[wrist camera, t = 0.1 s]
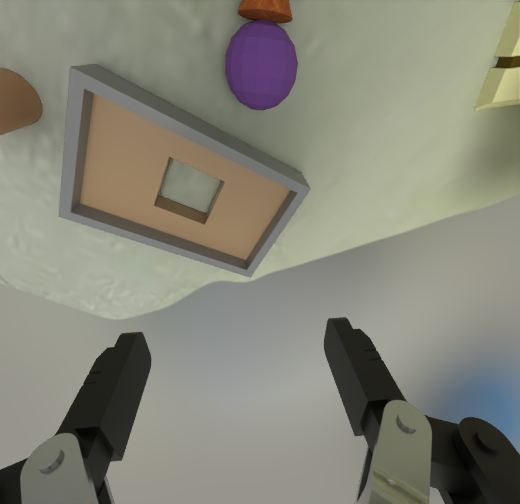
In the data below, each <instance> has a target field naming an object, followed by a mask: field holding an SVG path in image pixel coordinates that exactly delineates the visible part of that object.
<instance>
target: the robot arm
mask: <svg viewBox="0 0 520 504" xmlns="http://www.w3.org/2000/svg"><path fill="white" fill-rule="evenodd" d="M324 350H325V355H326V358H327V361H328V363H329V366H330V369H331V372H332V374H333V377H334V380H335V383H336V385H337V388H338V391H339V393H340V396H341V399H342V402H343V405H344V407H345V410H346V413H347V416H348V419H349V421H350V424H351V427H352V429H353V432H354V435H355V436H361V435H364V436H365V439H366V441H367V443H368V447H367V451H366V455H365V460H364V464H363V468H362V473H361V477H360V481H359V486H358V491H357V495H356V499H355V503H354V504H429V495H430V487H433V488H437V489H438V490H439V492H440V494H441V496H442V498H443V501H444V503H445V504H520V454H519V453H518V452H517V451H516V449H515V448H514V447H513V445H512V444H511V443H510V441H509V440H508V439H507V438H506V437H505V435H504V434H502V433H501V432H500V431H499V430H498V429H497V428H496V427H494V426H493V425H491V424H489V423H488V422H486V421H484V420H481V419H479V418H474V417H467V418H464V419H463V420H462V421H461V422H460V423H459V424H455V423H451V422H447V421H443V420H439V419H435V418H431V417H428V416H426V415H424V414H423V413H422V412H421V411H420V410H419V409H418V408H416V407H415V406H414V405H412V404H410V403H408V402H407V401H406V399H405V398H404V396H403V395H402V393H401V391H400V390H399V388H398V386H397V385H396V383H395V381H394V379H393V378H392V376H391V374H390V372H389V371H388V369H387V367H386V365H385V364H384V362H383V360H381V357H380V355H379V353H378V352H377V351H376V348H375V346H374V344H373V343H372V341H371V339H370V338H369V337H368V336H367V335H366V334H365V333H364V332H363V331H362V330H360V329H353V328H352V326H351V324H350V322H349V321H348V319H347V318H345V317H343V318H331V319H330V318H329V319H328V321H327V327H326V332H325V338H324ZM150 368H151V354H150V352H149V349H148V346H147V343H146V340H145V337H144V335H143V333H142V332H134V333H133V332H132V333H122V334H121V335H120V336H119V338H118V340H117V342H116V344H115V346H114V347H111V348H107V349H106V350H105V351H104V352H103V353H102V354H101V355H100V356H99V357H98V358H97V359H96V361H95V362H94V365H93V366H92V368H91V370H90V372H89V375H88V376H87V377H86V379H85V381H84V385H83V386H82V387H81V389H80V390H79V392H78V394H77V396H76V398H75V400H74V402H73V404H72V405H71V407H70V409H69V411H68V413H67V415H66V417H65V419H64V420H63V422H62V424H61V426H60V428H59V430H58V431H57V433H56V434H55V435H54V436H53V437H51V438H49V439H48V440H46V441H45V442H43V443H42V444H41V445H40V446H38V447H37V448H36V449H35V451H33V453H32V454H31V455H30V456H29V458H26V459H24V460H22V461H20V462H18V463H15V464H13V465H11V466H8V467H6V468H3V469H1V470H0V504H115V503H114V499H113V496H112V493H111V490H110V487H109V483H108V480H107V477H106V473H107V469H108V466H109V464H110V462H111V461H120V460H122V458H123V455H124V452H125V449H126V445H127V442H128V439H129V436H130V433H131V429H132V426H133V423H134V420H135V417H136V413H137V410H138V407H139V404H140V400H141V397H142V394H143V391H144V387H145V385H146V381H147V378H148V375H149V372H150Z"/></svg>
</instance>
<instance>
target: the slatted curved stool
mask: <svg viewBox="0 0 520 504" xmlns="http://www.w3.org/2000/svg"><path fill="white" fill-rule="evenodd" d="M495 56H498V57H500V59H499V62H498V64H497V67H495V68H490V69H489V72H488V74H487V77H486V80H485V82H484V85H483V88H482V90H481V93H480V96H479V98H478V101H477V104H476V106H475V109H474V111H475V110H482V109H489V108H496V107H503V106H510V105H517V104H520V2H516V3H514V5H513V8H512V11H511V13H510V16H509V19H508V21H507V24H506V27H505V29H504V32H503V35H502V37H501V40H500V43H499V45H498V48H497V51H496V53H495Z"/></svg>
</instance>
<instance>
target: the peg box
mask: <svg viewBox="0 0 520 504" xmlns="http://www.w3.org/2000/svg"><path fill="white" fill-rule="evenodd" d="M170 158H173V159H175V160H178V161H180V162H182V163H184V164H186V165H189V166H191V167H193V168H195V169H198V170H200V171H202V172H204V173H206V174H209V175H211V176H213V177H215V178H217V179H220V180H222V182H221V184H220V186H219V188H218V190H217V193H216V195H215V197H214V199H213V201H212V204H211V206H210V208H209V210H208V212H207V214H204V213H202V212H199V211H197V210H194V209H192V208H189V207H187V206H184V205H181V204H179V203H176V202H174V201H171V200H169V199H166V198H164V197H161V196H159V193H160V190H161V186H162V183H163V180H164V177H165V174H166V171H167V168H168V165H169V161H170ZM309 191H310V187H309V185H308V183H307V182H306V180H305V178H304V176H303V175H302V173H301V172H299V171H297V170H295V169H293V168H291V167H289V166H288V165H286V164H284V163H282V162H280V161H278V160H276V159H274V158H272V157H271V156H269V155H267V154H265V153H263V152H261V151H259V150H257V149H255V148H254V147H252V146H250V145H248V144H246V143H244V142H242V141H240V140H238V139H236V138H235V137H233V136H231V135H229V134H227V133H225V132H223V131H221V130H219V129H218V128H216V127H214V126H212V125H210V124H208V123H206V122H204V121H202V120H201V119H199V118H197V117H195V116H193V115H191V114H189V113H187V112H185V111H183V110H182V109H180V108H178V107H176V106H174V105H172V104H170V103H168V102H166V101H165V100H163V99H161V98H159V97H157V96H155V95H153V94H151V93H149V92H148V91H146V90H144V89H142V88H140V87H138V86H136V85H134V84H132V83H130V82H129V81H127V80H125V79H123V78H121V77H119V76H117V75H115V74H113V73H112V72H110V71H108V70H106V69H104V68H102V67H100V66H98V65H96V64H91V65H81V66H71V67H70V75H69V88H68V101H67V114H66V127H65V140H64V153H63V166H62V179H61V192H60V205H59V217H62V218H65V219H68V220H71V221H74V222H77V223H81V224H84V225H87V226H90V227H93V228H96V229H99V230H103V231H106V232H109V233H112V234H115V235H118V236H121V237H125V238H128V239H131V240H134V241H137V242H140V243H143V244H147V245H150V246H153V247H156V248H159V249H162V250H165V251H169V252H172V253H175V254H178V255H181V256H184V257H187V258H191V259H194V260H197V261H200V262H203V263H206V264H209V265H213V266H216V267H219V268H222V269H225V270H228V271H231V272H235V273H238V274H241V275H244V276H247V277H251V276H252V274H253V273H254V271H255V270H256V269H257V267H258V266H259V264H260V263H261V261H262V260H263V258H264V257H265V255H266V254H267V252H268V251H269V249H270V248H271V247H272V245H273V244H274V242H275V241H276V239H277V238H278V236H279V235H280V233H281V232H282V230H283V229H284V227H285V226H286V225H287V223H288V222H289V220H290V219H291V217H292V216H293V214H294V213H295V211H296V210H297V208H298V207H299V205H300V204H301V203H302V201H303V200H304V198H305V197H306V195H307V194H308V192H309Z"/></svg>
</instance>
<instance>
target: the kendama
mask: <svg viewBox="0 0 520 504" xmlns="http://www.w3.org/2000/svg"><path fill="white" fill-rule="evenodd" d="M238 14H239V15H240V16H242V17H245V18H247V19H251V20H255V21H253V22H250V23H248V24H245V25H243V26H242V27H241V28H240V29H239V30H238V31H237V32H236V34H235V35H234V36H233V37H232V39H231V41H230V44H229V47H228V50H227V53H226V69H225V73H226V76H227V80H228V83H229V86H230V89H231V91H232V92H233V93H234V95H235V96H236V97H237V99H238V100H239V101H240V102H241V103H243V104H244V105H246V106H248V107H249V108H251V109H255V110H266V109H269V108H272V107H274V106H277V105H278V104H279V103H280V102H281V101H283V100H284V99H285V98H286V97H287V96H288V94H289V92H290V90H291V88H292V86H293V84H294V82H295V79H296V72H297V65H298V63H297V58H296V52H295V47H294V45H293V43H292V41H291V40H290V38H289V36H288V35H287V33H286V31H285V30H284V29H282V28H281V27H279V26H278V25H276V24H275V23H286V22H290V21H291V20H292V14H291V9H290V4H289V0H242V2H241V5H240V7H239V10H238Z"/></svg>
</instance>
